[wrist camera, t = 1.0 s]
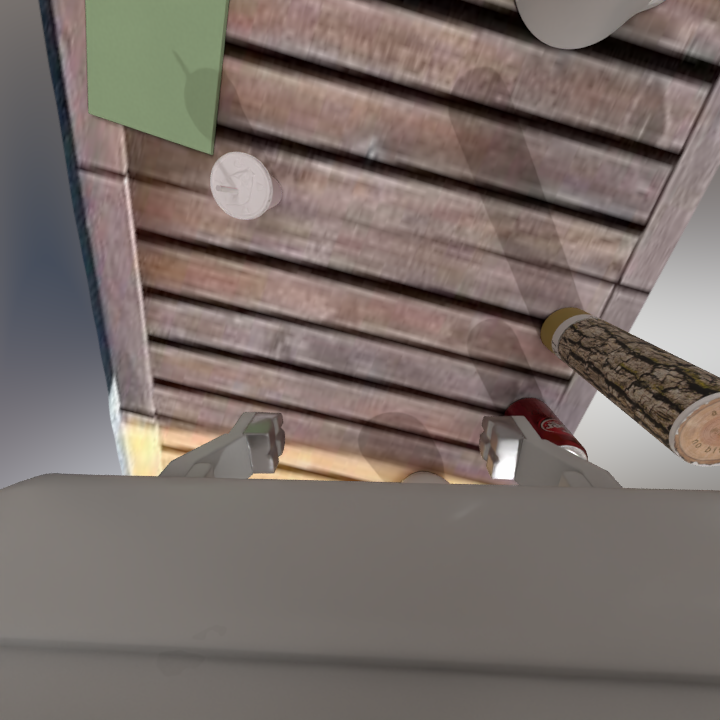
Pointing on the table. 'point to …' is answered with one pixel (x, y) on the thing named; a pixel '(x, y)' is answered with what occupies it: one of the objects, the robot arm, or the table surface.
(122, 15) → the pad
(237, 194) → the smoothie
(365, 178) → the table surface
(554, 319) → the paper tube
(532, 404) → the soda can
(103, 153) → the table surface
